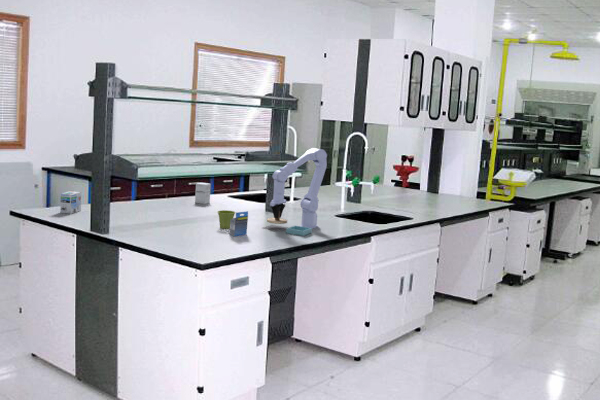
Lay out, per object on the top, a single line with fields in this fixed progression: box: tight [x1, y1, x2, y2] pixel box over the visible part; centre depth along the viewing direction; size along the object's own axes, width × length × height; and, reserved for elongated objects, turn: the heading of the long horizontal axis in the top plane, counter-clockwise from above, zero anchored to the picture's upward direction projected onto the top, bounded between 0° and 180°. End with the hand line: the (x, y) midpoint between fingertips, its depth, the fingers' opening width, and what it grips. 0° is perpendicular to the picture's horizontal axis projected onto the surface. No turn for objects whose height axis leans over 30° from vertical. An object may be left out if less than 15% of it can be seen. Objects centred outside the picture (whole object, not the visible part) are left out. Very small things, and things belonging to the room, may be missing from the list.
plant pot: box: [217, 209, 236, 230], centre depth 344 cm, size 9×9×9 cm
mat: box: [262, 224, 289, 232], centre depth 352 cm, size 12×12×1 cm
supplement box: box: [194, 182, 212, 205], centre depth 415 cm, size 7×7×13 cm
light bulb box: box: [59, 190, 82, 215], centre depth 358 cm, size 11×7×11 cm, turn 168°
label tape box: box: [229, 210, 249, 237], centre depth 329 cm, size 9×4×12 cm, turn 141°
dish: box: [285, 225, 313, 237], centre depth 343 cm, size 10×10×3 cm
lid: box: [266, 211, 288, 225], centre depth 351 cm, size 11×11×6 cm
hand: (277, 217), depth 351 cm, fingers closed on lid, 3 cm apart
